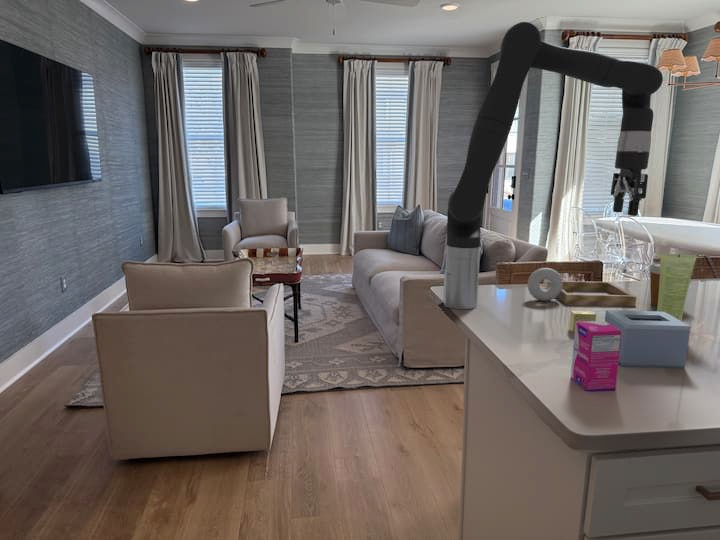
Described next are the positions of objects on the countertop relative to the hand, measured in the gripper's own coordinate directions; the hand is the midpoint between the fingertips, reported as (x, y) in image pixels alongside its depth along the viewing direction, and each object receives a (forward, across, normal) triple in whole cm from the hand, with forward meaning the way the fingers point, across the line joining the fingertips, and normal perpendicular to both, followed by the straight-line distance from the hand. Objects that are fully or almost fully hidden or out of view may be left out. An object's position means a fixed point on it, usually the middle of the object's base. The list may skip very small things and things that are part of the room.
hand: (624, 213), depth 134 cm
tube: (+27, +18, +5) cm, 33 cm away
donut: (+27, -11, -15) cm, 33 cm away
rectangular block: (+27, +18, -15) cm, 36 cm away
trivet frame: (+27, -16, 0) cm, 31 cm away
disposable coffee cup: (+27, -8, +18) cm, 33 cm away
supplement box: (+28, +49, -24) cm, 61 cm away
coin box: (+27, +35, -9) cm, 45 cm away
